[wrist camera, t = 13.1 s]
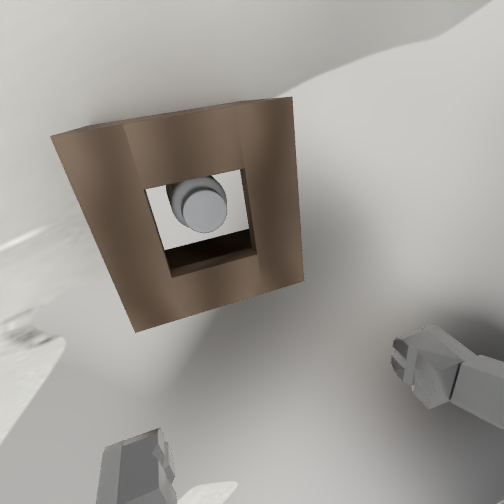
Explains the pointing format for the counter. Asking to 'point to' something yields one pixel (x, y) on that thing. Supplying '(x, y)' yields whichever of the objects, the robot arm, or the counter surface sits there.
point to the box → (181, 169)
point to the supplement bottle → (198, 203)
